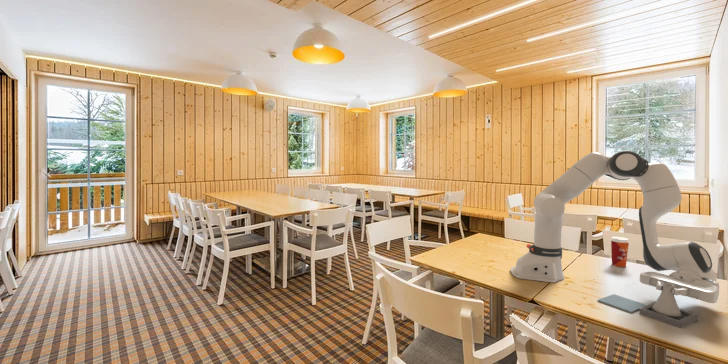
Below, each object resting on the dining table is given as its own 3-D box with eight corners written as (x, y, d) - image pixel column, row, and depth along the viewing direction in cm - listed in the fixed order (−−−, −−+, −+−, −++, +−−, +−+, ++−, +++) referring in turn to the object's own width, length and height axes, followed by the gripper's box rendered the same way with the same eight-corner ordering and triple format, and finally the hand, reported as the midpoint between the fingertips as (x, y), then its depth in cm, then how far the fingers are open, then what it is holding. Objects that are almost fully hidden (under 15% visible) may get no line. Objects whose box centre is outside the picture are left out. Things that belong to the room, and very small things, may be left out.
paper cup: (622, 268, 160) (624, 240, 159) (606, 264, 167) (607, 237, 166) (632, 266, 163) (633, 239, 162) (615, 262, 170) (616, 235, 169)
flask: (666, 307, 116) (668, 280, 116) (686, 317, 109) (689, 288, 108) (646, 307, 116) (648, 280, 116) (665, 317, 109) (667, 289, 108)
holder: (681, 328, 105) (682, 322, 105) (639, 313, 115) (639, 308, 115) (697, 319, 110) (697, 314, 110) (655, 306, 120) (655, 301, 120)
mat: (631, 313, 115) (631, 311, 115) (597, 301, 125) (597, 299, 125) (647, 306, 120) (647, 305, 120) (613, 295, 130) (613, 294, 130)
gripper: (650, 265, 127) (631, 271, 121) (725, 284, 108) (707, 292, 102) (649, 281, 127) (630, 287, 121) (723, 302, 109) (705, 311, 103)
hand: (666, 290), depth 112 cm, fingers closed on flask, 3 cm apart
